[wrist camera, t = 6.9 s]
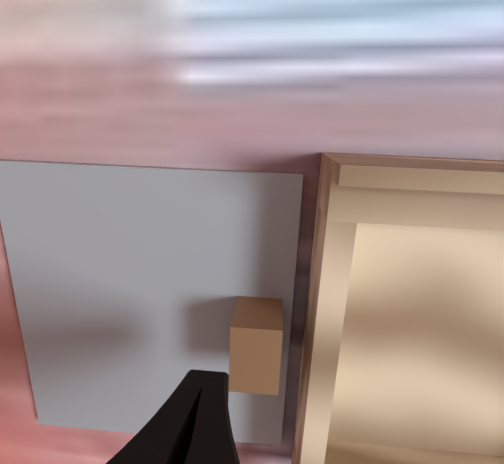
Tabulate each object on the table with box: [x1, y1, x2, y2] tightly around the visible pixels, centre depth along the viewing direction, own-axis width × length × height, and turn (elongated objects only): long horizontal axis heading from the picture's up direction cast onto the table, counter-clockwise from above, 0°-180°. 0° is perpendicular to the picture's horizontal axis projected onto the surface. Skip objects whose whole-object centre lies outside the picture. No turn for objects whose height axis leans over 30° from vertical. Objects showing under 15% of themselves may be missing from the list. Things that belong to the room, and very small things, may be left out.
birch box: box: [292, 152, 504, 464], centre depth 14 cm, size 16×14×4 cm
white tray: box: [0, 159, 303, 446], centre depth 15 cm, size 14×13×4 cm
